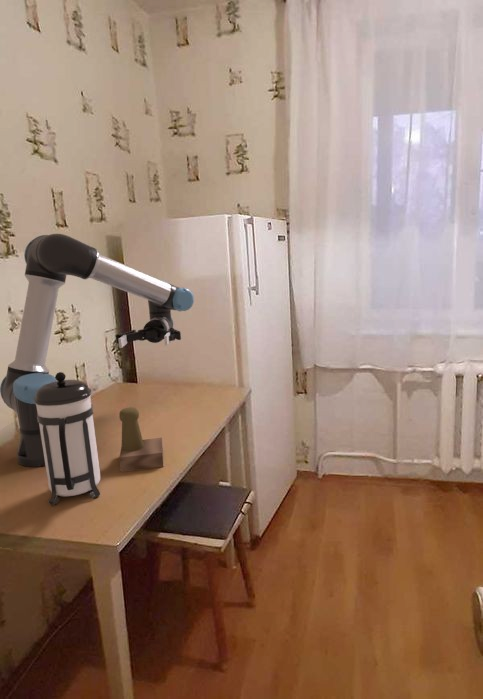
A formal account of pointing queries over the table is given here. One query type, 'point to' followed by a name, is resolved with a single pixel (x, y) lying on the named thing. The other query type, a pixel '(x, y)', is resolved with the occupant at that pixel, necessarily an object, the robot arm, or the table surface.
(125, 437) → the olive pawn
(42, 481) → the table surface
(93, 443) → the coffee press
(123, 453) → the walnut base
